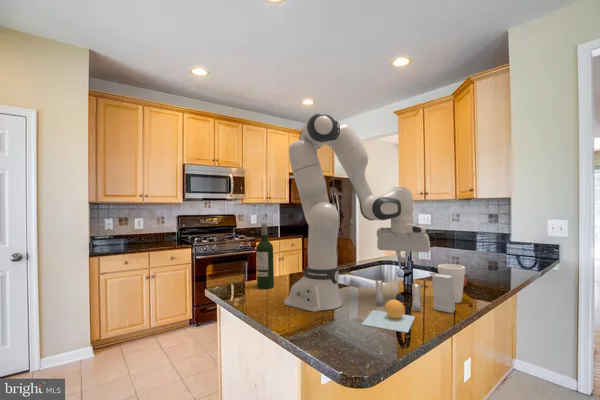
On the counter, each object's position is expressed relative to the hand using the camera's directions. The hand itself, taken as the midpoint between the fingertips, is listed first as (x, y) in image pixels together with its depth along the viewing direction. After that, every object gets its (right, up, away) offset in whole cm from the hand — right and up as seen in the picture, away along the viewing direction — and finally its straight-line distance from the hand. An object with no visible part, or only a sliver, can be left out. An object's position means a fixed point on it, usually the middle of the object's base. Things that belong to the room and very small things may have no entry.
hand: (403, 262), depth 121 cm
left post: (-12, -14, -8) cm, 20 cm away
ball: (-10, -11, -22) cm, 27 cm away
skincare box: (+9, -14, -15) cm, 23 cm away
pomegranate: (+28, -14, +12) cm, 33 cm away
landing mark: (-13, -14, -24) cm, 30 cm away
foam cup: (+17, -14, -5) cm, 23 cm away
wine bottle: (-58, -16, +21) cm, 63 cm away
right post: (0, -14, -15) cm, 20 cm away
